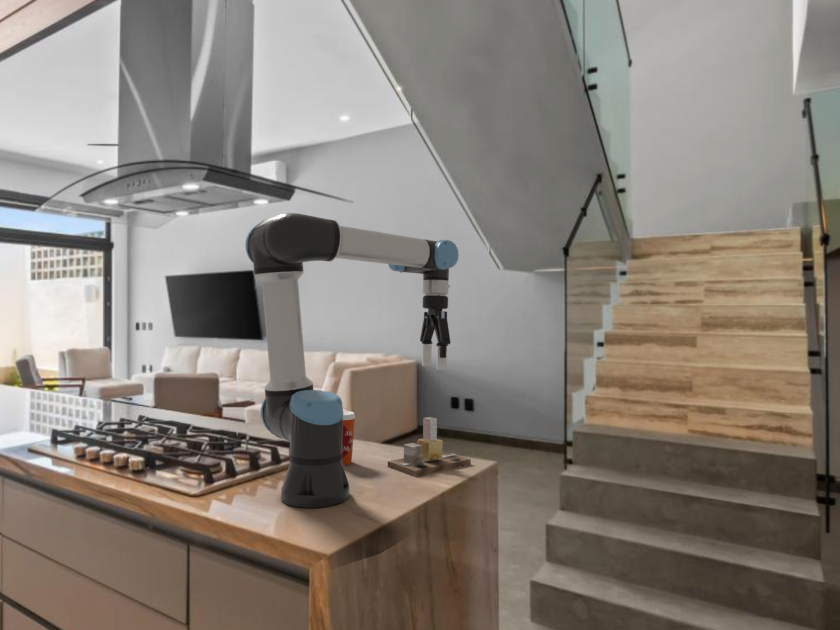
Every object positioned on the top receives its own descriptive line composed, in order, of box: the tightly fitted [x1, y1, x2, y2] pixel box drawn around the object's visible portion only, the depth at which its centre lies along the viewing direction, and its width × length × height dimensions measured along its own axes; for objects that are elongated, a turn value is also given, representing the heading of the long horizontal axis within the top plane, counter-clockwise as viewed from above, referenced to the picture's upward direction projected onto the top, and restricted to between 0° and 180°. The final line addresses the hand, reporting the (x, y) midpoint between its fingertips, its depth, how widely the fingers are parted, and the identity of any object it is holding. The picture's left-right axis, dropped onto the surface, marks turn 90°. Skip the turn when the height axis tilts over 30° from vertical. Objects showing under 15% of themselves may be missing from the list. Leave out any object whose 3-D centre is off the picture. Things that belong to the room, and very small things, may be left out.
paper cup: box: [342, 410, 357, 466], centre depth 154 cm, size 8×8×14 cm
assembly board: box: [387, 442, 472, 478], centre depth 152 cm, size 20×12×6 cm, turn 129°
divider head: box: [416, 416, 444, 462], centre depth 151 cm, size 5×7×11 cm
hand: (433, 367), depth 162 cm, fingers open, 13 cm apart
